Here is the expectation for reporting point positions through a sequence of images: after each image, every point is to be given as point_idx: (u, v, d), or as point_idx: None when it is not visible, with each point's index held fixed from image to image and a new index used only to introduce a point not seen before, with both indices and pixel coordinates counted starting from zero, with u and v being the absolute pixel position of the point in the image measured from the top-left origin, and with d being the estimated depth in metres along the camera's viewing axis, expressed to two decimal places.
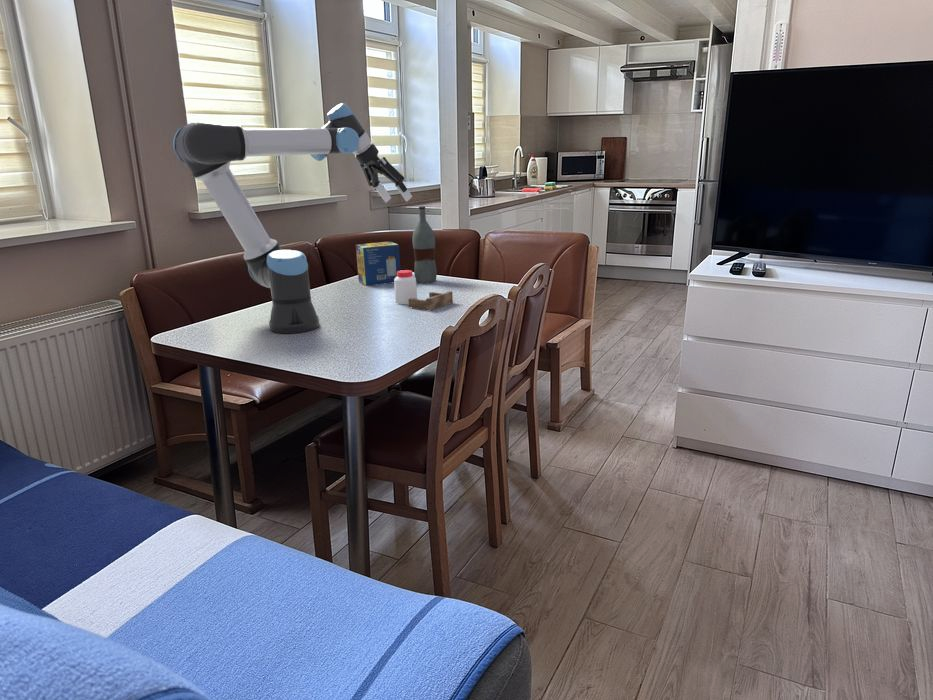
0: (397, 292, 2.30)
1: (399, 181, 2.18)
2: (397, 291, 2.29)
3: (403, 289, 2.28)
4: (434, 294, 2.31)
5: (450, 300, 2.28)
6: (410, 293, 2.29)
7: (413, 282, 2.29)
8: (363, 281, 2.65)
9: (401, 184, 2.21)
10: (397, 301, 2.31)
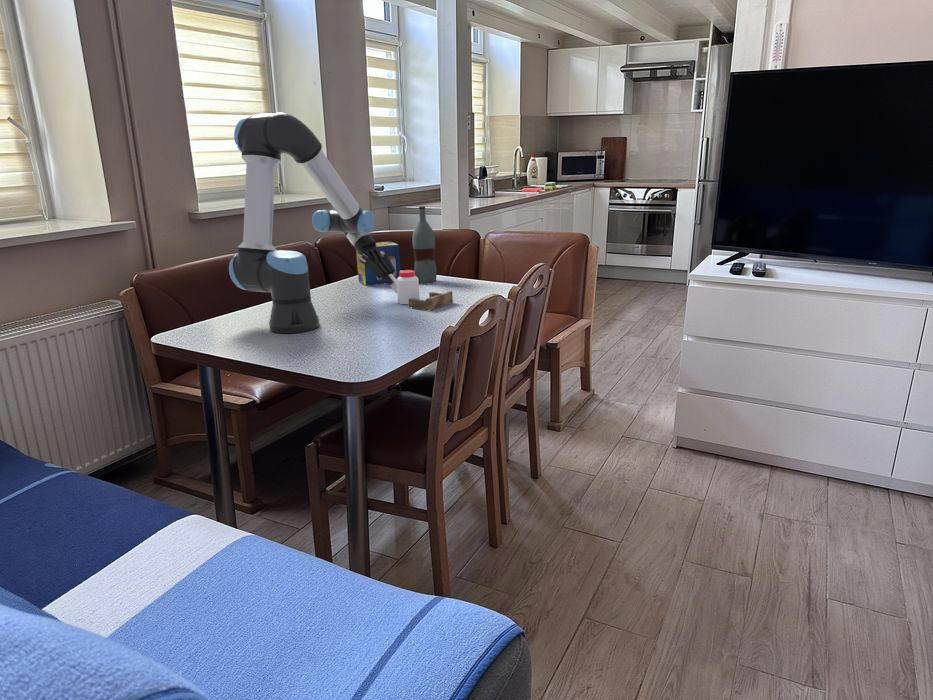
0: (399, 292, 2.29)
1: None
2: (399, 291, 2.29)
3: (406, 289, 2.28)
4: (434, 294, 2.31)
5: (450, 300, 2.28)
6: (412, 293, 2.28)
7: (415, 282, 2.28)
8: (363, 281, 2.65)
9: None
10: (399, 301, 2.30)
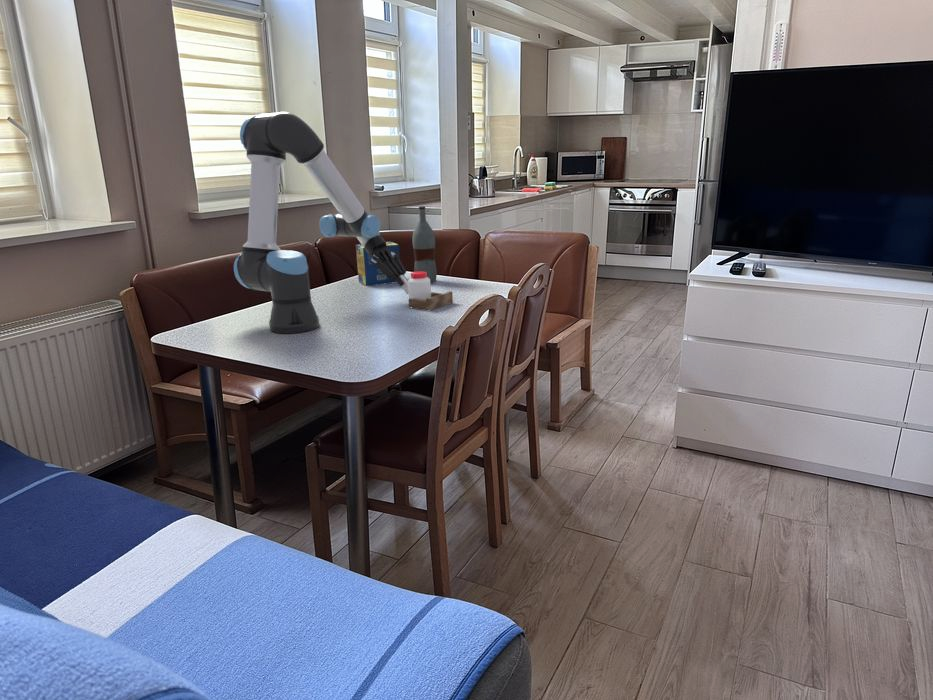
0: (411, 294, 2.26)
1: None
2: (411, 293, 2.26)
3: (418, 291, 2.24)
4: (434, 294, 2.31)
5: (450, 300, 2.28)
6: (424, 295, 2.25)
7: (427, 283, 2.25)
8: (363, 281, 2.65)
9: None
10: None
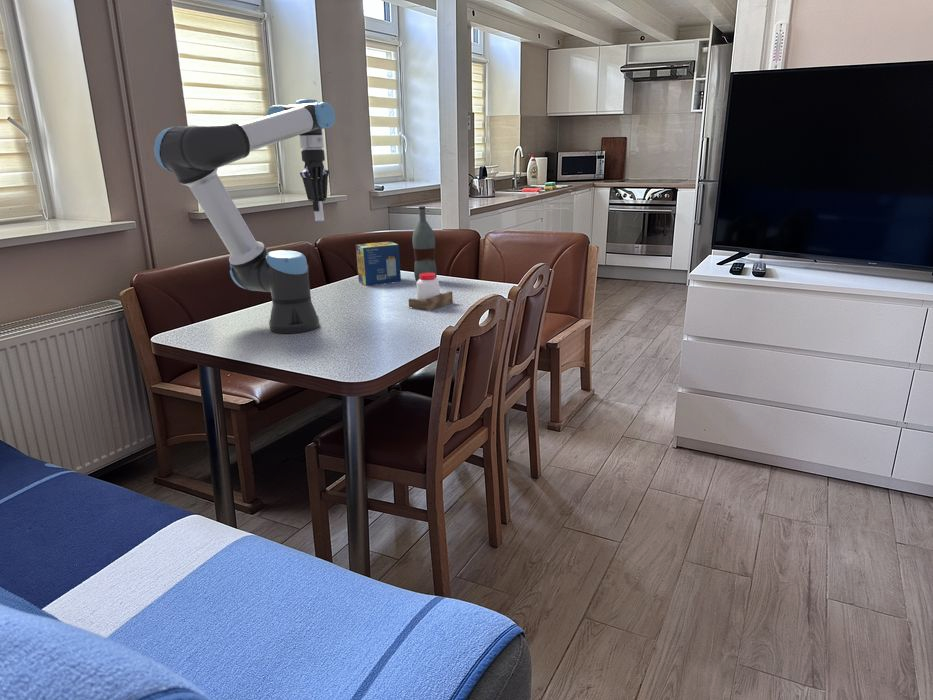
0: (420, 295, 2.23)
1: None
2: (420, 294, 2.23)
3: (427, 292, 2.22)
4: None
5: (450, 300, 2.28)
6: None
7: (437, 285, 2.23)
8: (363, 281, 2.65)
9: (313, 203, 2.23)
10: None
